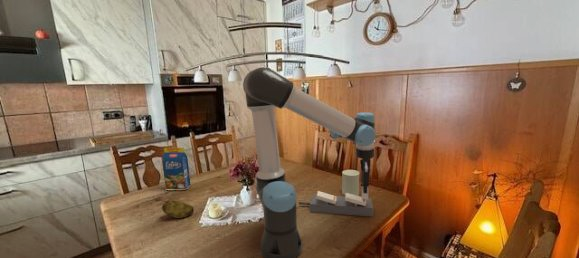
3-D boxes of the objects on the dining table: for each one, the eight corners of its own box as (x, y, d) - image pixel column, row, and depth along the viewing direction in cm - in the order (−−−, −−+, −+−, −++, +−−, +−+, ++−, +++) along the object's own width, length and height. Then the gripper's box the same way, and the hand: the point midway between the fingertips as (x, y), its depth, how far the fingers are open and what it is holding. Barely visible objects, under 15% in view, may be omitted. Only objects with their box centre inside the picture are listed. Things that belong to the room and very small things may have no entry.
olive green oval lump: (186, 222, 110) (184, 205, 109) (160, 220, 113) (158, 203, 111) (196, 212, 119) (194, 196, 117) (171, 211, 121) (169, 195, 119)
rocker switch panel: (297, 211, 117) (297, 200, 116) (300, 201, 126) (300, 191, 126) (373, 216, 110) (373, 205, 109) (370, 205, 120) (370, 195, 119)
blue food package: (171, 186, 151) (166, 146, 146) (190, 186, 150) (186, 146, 145) (165, 191, 145) (160, 149, 140) (185, 191, 144) (181, 149, 139)
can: (359, 197, 129) (360, 175, 127) (341, 196, 131) (341, 174, 129) (358, 189, 138) (359, 169, 136) (341, 188, 140) (341, 168, 138)
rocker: (316, 198, 114) (317, 195, 114) (317, 193, 119) (318, 190, 119) (335, 204, 113) (336, 201, 113) (335, 199, 118) (336, 196, 118)
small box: (345, 200, 112) (346, 197, 111) (345, 195, 117) (345, 192, 116) (365, 206, 110) (366, 202, 110) (364, 200, 115) (365, 197, 115)
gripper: (376, 152, 101) (375, 206, 105) (372, 144, 114) (371, 192, 118) (357, 152, 103) (357, 205, 107) (355, 144, 115) (355, 192, 120)
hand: (364, 198), depth 112 cm, fingers closed
